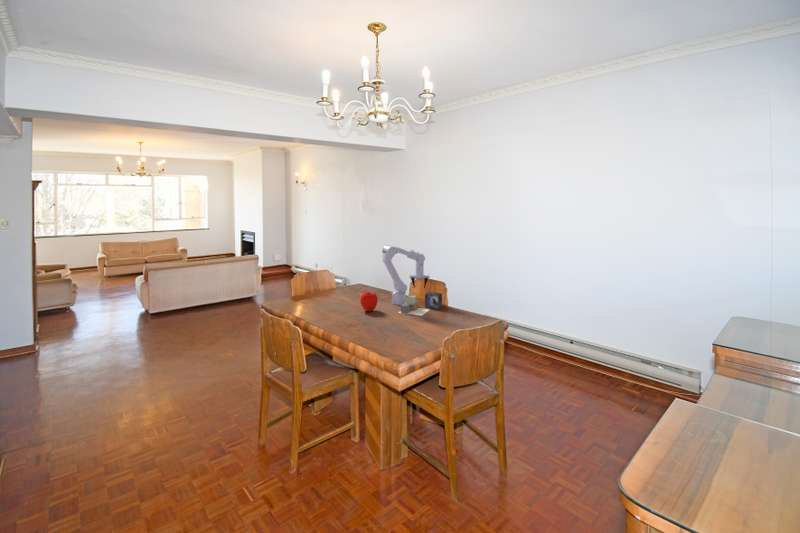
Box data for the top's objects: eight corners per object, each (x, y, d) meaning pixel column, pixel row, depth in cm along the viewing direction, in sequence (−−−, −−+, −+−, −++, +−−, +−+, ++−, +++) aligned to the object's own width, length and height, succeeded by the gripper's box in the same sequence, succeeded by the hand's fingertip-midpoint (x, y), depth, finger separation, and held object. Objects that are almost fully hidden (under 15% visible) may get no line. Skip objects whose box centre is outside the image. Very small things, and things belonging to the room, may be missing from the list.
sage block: (406, 304, 272) (406, 296, 271) (409, 302, 276) (409, 295, 275) (413, 304, 270) (413, 297, 269) (416, 303, 274) (416, 296, 273)
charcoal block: (400, 312, 266) (400, 305, 265) (403, 310, 270) (403, 303, 269) (407, 313, 264) (407, 306, 263) (410, 311, 268) (410, 304, 267)
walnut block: (404, 309, 272) (404, 304, 271) (408, 307, 278) (408, 301, 278) (414, 311, 269) (414, 305, 268) (417, 308, 275) (418, 302, 275)
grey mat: (397, 313, 265) (397, 312, 265) (407, 307, 280) (407, 306, 280) (421, 316, 259) (421, 315, 258) (430, 310, 273) (430, 309, 273)
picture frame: (424, 308, 278) (424, 293, 276) (428, 305, 284) (428, 291, 282) (438, 310, 273) (438, 295, 272) (442, 307, 279) (442, 293, 277)
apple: (361, 314, 263) (360, 294, 261) (359, 309, 275) (359, 290, 272) (378, 313, 266) (378, 293, 263) (376, 308, 277) (376, 289, 275)
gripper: (409, 270, 288) (409, 288, 290) (429, 270, 287) (429, 289, 290) (409, 268, 295) (409, 286, 297) (429, 269, 294) (429, 287, 296)
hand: (419, 287), depth 294 cm, fingers open, 7 cm apart
